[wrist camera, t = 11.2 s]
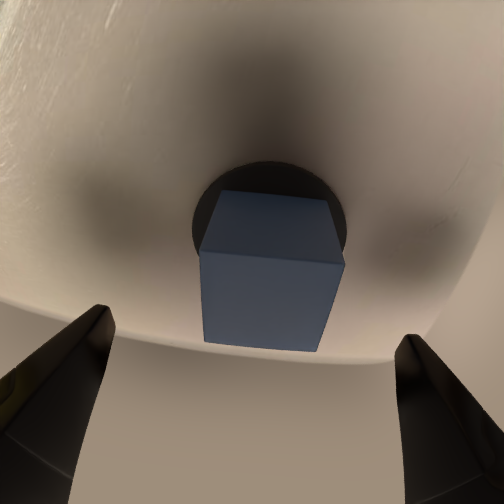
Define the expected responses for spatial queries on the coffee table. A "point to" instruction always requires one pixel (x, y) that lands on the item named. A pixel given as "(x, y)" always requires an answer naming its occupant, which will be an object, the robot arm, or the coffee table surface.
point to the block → (269, 271)
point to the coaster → (267, 192)
